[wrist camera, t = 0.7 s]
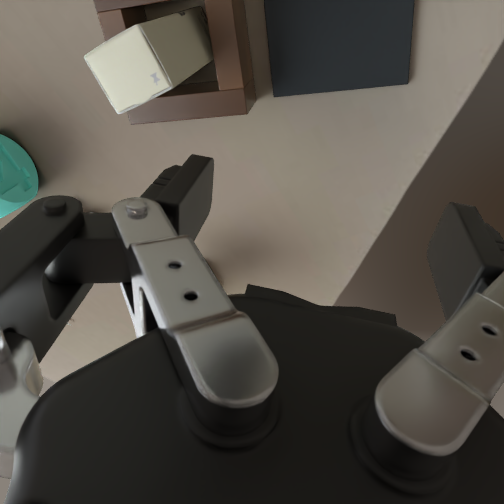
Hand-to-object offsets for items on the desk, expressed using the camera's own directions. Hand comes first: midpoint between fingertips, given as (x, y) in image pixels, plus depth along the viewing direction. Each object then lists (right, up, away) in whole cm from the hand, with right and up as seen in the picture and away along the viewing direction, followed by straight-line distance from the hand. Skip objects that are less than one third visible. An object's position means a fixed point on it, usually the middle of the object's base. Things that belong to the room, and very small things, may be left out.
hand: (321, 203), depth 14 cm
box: (-8, +18, +23) cm, 30 cm away
